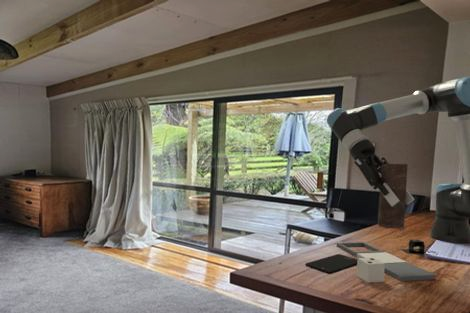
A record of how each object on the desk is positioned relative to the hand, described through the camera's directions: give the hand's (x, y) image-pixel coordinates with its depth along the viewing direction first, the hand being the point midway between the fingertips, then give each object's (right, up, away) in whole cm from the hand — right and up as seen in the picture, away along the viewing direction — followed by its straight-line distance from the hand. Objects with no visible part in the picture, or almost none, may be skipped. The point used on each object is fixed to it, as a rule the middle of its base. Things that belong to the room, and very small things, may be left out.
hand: (403, 202), depth 102 cm
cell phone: (-19, -20, +5) cm, 28 cm away
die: (-12, -20, -7) cm, 24 cm away
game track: (-3, -20, +10) cm, 23 cm away
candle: (-2, -9, +3) cm, 9 cm away
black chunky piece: (+15, -21, +22) cm, 34 cm away
